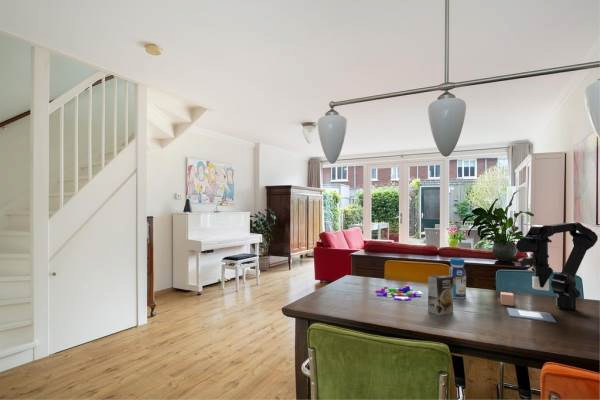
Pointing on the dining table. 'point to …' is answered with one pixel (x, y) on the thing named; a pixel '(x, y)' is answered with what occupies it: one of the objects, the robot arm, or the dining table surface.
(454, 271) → the beverage bottle
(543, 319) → the board
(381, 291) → the building block set
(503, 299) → the terracotta block
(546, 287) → the cream block
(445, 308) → the coffee box
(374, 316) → the dining table surface
